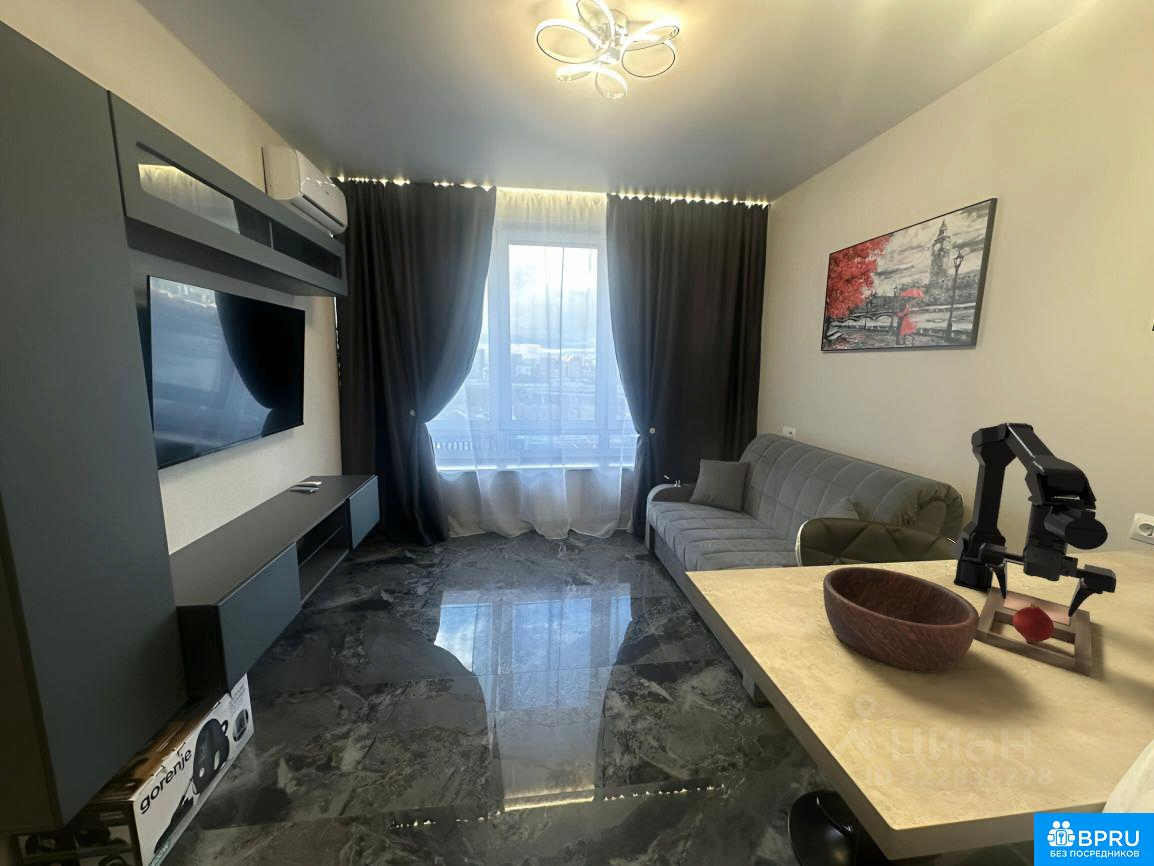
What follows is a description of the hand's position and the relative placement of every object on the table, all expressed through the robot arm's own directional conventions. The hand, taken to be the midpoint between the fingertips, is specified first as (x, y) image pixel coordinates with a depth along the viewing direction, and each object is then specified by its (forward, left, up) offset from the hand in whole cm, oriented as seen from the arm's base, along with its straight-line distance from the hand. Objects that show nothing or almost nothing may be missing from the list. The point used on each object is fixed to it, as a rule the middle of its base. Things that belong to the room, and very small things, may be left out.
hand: (1035, 606), depth 92 cm
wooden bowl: (-19, -21, -8) cm, 29 cm away
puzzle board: (0, +7, -7) cm, 10 cm away
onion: (0, 0, -8) cm, 8 cm away
